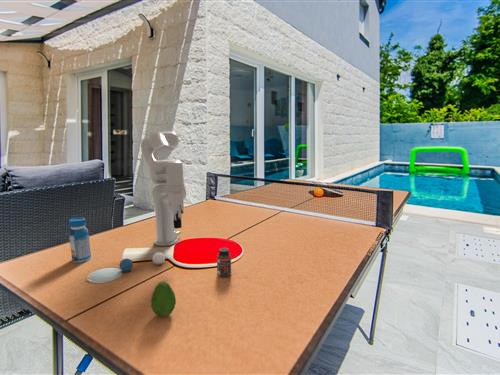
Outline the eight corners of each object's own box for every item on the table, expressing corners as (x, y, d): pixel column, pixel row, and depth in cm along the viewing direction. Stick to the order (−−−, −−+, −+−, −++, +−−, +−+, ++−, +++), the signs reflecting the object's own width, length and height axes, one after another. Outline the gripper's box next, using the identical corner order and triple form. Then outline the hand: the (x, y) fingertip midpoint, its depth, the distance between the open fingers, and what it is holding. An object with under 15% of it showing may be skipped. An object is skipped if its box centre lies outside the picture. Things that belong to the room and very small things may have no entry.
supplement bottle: (218, 278, 133) (217, 253, 131) (216, 272, 138) (215, 247, 136) (232, 276, 134) (232, 251, 132) (229, 270, 140) (229, 246, 138)
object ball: (127, 267, 144) (126, 255, 143) (136, 269, 142) (135, 258, 141) (117, 271, 140) (116, 260, 139) (125, 274, 137) (124, 262, 136)
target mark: (108, 265, 146) (108, 265, 146) (128, 272, 139) (128, 272, 139) (78, 278, 134) (78, 277, 134) (99, 286, 127) (99, 286, 127)
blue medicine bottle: (86, 263, 149) (81, 221, 145) (68, 263, 149) (62, 221, 145) (94, 255, 157) (90, 216, 153) (77, 255, 158) (73, 216, 154)
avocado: (167, 324, 103) (164, 289, 101) (147, 318, 106) (144, 285, 103) (181, 310, 110) (179, 278, 108) (162, 306, 113) (159, 274, 111)
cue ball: (159, 260, 151) (158, 249, 150) (167, 263, 148) (167, 251, 147) (150, 265, 146) (149, 253, 145) (158, 267, 144) (157, 256, 142)
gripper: (163, 187, 150) (165, 224, 153) (171, 192, 137) (174, 233, 140) (178, 185, 153) (181, 222, 156) (188, 190, 140) (190, 230, 143)
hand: (177, 227), depth 148 cm, fingers closed
